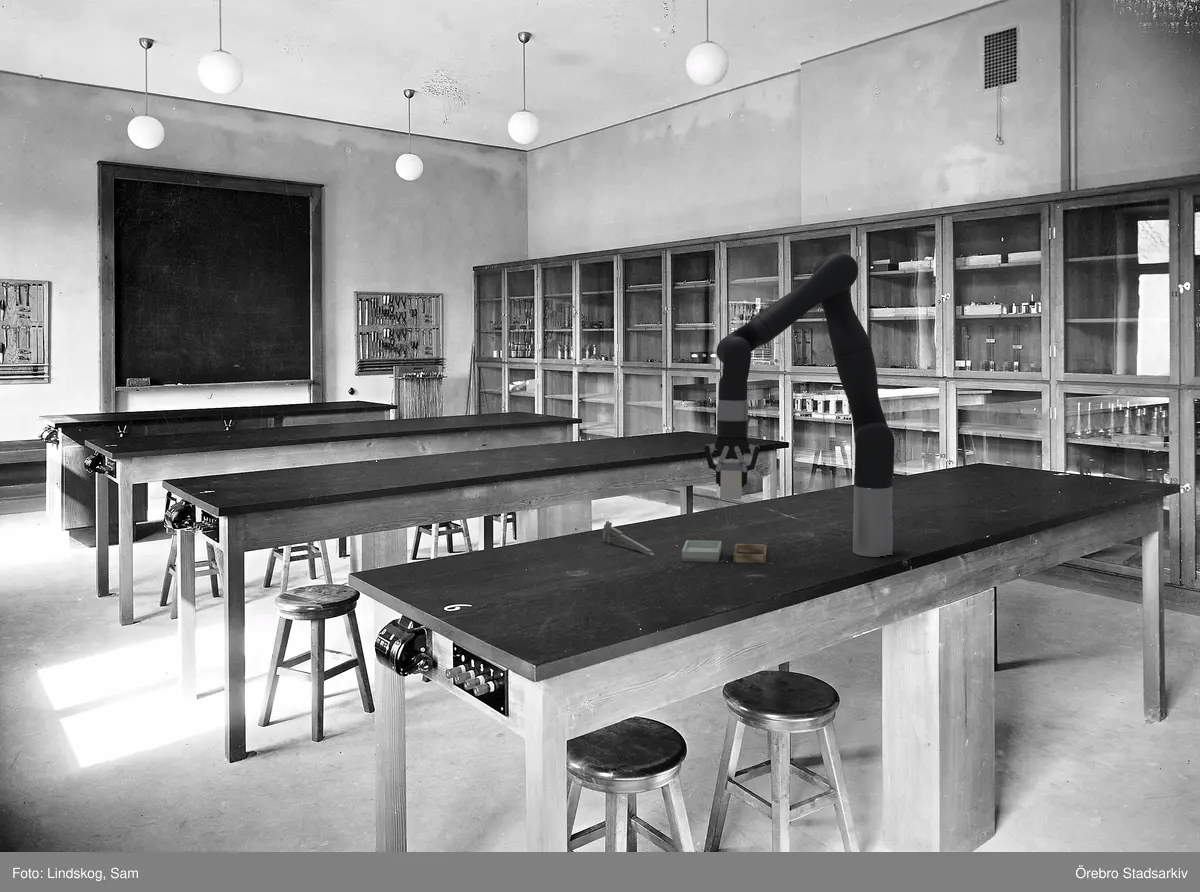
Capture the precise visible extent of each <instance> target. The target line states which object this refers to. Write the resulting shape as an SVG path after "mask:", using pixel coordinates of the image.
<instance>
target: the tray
mask: <svg viewBox="0 0 1200 892" xmlns="http://www.w3.org/2000/svg"><path fill="white" fill-rule="evenodd" d="M721 553H722V540H689V539H688V540H685V543H684V545H683V547H682V550H681V562H691V563H694V562H695V563H696V562H698V563H704V562H705V563H719V562H720V557H721Z"/></svg>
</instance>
